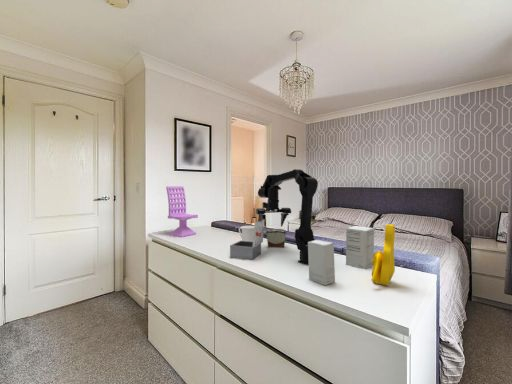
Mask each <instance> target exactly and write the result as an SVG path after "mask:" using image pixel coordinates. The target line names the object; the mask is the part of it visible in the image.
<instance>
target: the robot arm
mask: <svg viewBox="0 0 512 384" xmlns="http://www.w3.org/2000/svg"><path fill="white" fill-rule="evenodd" d="M291 180H295V181H294V182H295V183H296V184H297V185H298V189H299V190H298V191H299V193H300V195H301V208H300V220H299V221H300V222H299V223H300V224H299V227H298V228H296V229H295V230H294V237H293V238H294V239H295V240H294V241H295V243H296V247H297V250H298V251H299V260H298V261H297V262H298V263H301V264H304V265H306V266H307V265H308V266H309V261H308V242H310V241H314V240H316V239H315V237H314V231H313V229H312V215H313V214H312V212H313V201H314V196H315V194H316V193H317V190H318V186H319V181H318V180H317V179H316V178H315V177H313V176H312V175H310V174H308V173H306V172H305V171H303V169H297V168H295V169H293V170H290V171H285V172H283V173H279V174H267V175H266V178H265V180H264V182H263V184H262V185H260V188H258V190H257V196H258V197H259V198H262V199H266V198H267V202H266V201H263V202H262V204H261V206H262V207H258V208H256V209H255V215H258V216H259V214H263V215H262V219H265V222H264V228H266V227H267V219H266V218H267V216H266V214H267V213H270V214H271V213H280V227H283V225H284V223H285V220H286V218H287V217H288V216H289V215H290V214H292V209H291V208H290V207H281V208H280V207H279V206H280V205H279V203H280V200H279V198H280V197H279V190H280V191H281V190H282V188H281V187H280V186H279V185H281V184H283V183H284V182H287V181H291Z"/></svg>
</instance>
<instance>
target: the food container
mask: <svg viewBox="0 0 512 384" xmlns="http://www.w3.org/2000/svg"><path fill="white" fill-rule="evenodd" d="M265 234H266V240H267V241H266V242H267V248H273V249H274V248H277V249H284V248H285V245H286V244H285V243H286V235H288V234H287V230H286V229H283V228H269V229H266V231H265Z"/></svg>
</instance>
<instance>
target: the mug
mask: <svg viewBox="0 0 512 384" xmlns="http://www.w3.org/2000/svg"><path fill="white" fill-rule="evenodd" d="M238 232H239V236H240V238H241V241H250V242H253V236H254V225H243V226H241V227H239V228H238Z"/></svg>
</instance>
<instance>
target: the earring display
mask: <svg viewBox="0 0 512 384" xmlns="http://www.w3.org/2000/svg"><path fill="white" fill-rule="evenodd" d="M165 189H166V194H167V200H168V201H167V202H168V215H167V219H169V220H171V219H174V220H178V221H179V223H178V225H179V226H178V227H177V228H176V229H174V230H173V231H171V232H170V233H169V236H171V235H173V237H177V236H178V237H179V238H186V237H190V236H195V235H197V232H195V231H194V230H193V229H192V228H190V227H188V226H187V225H188V224H187V223H188V221H187V220H191V219H196V218H198V217H199V216H198V214H190V213H189V214H188V213H187V203H186V202H187V201H186V193H185V187H184V186H183V185H182V186H177V185H175V186H166V188H165Z"/></svg>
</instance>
